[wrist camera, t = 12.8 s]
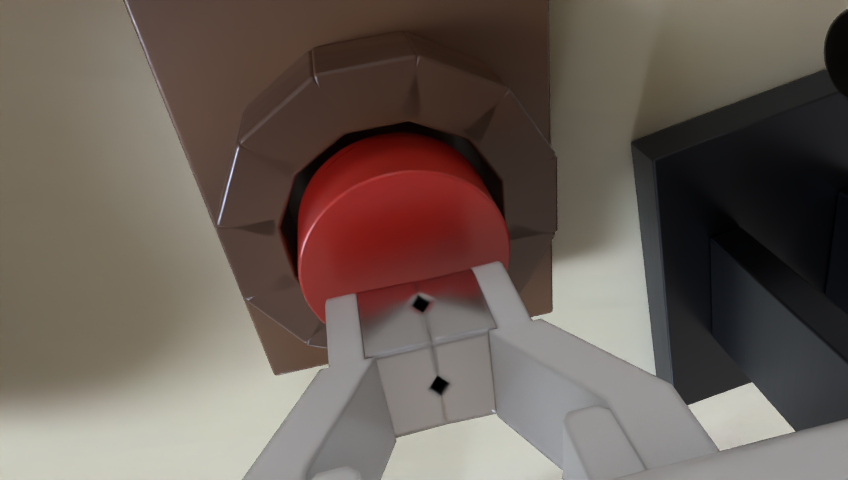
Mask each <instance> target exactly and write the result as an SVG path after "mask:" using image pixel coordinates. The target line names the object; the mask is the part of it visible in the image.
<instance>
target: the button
mask: <svg viewBox="0 0 848 480" xmlns="http://www.w3.org/2000/svg"><path fill="white" fill-rule="evenodd" d="M509 259H510V238H509V232H508V228H507V225H506V222H505V220H504V218H503V216H502V214H501V212H500V210H499V208H498V207H497V205H496V203H495V202H494V200H493V198H492V196H491V195H490V193H489V191H488V190H487V188H486V186H485V184H484V183H483V181H482V179H481V178H480V176H479V174H478V172H477V171H476V170H475V168H474V167H473V165H472V164H471V163H470V162H469V161H468V160H467V159H466V158H465V157H464V156H463V155H462V154H461V153H460V152H458V151H457V150H456V149H454V148H453V147H451V146H449V145H448V144H446V143H444V142H442V141H439V140H437V139H434V138H432V137H428V136H424V135H420V134H413V133H387V134H380V135H375V136H372V137H368V138H364V139H362V140H359V141H357V142H354V143H352V144H350V145H349V146H347V147H345V148H343V149H341V150H340V151H338V152H337V153H336V154H334V155H333V156H332V157H330V158H329V159H328V160H327V161H326V162H325V163H324V164H323V165H322V166H321V167H320V168H319V169H318V170H317V172H316V173H315V174H314V175H313V177H312V178H311V180H310V182H309V183H308V185H307V187H306V189H305V191H304V194H303V196H302V199H301V203H300V207H299V212H298V277H299V282H300V286H301V290H302V293H303V295H304V297H305V300H306V302H307V303H308V305H309V306H310V308H311V310H312V311H313V312H314V313H315V314H316V316H317V317H318V318H319V319H320V320H321V321H322V322H323V323H324V324H326V312H325V304H326V300H327V299H330V298H334V297H339V296H344V295H349V294H353V293H355V294H357V292H362V291H367V290H372V289H377V288H382V287H387V286H392V285H397V284H402V283H407V282H412V281H419V280H423V279H428V278H432V277H436V276H441V275H445V274H450V273H454V272H458V271H463V270H467V269H470V268H472V267H476V266H480V265H484V264H488V263H491V262H495V261H499V262H501V263H502V264H503V266H504V268H505V270H506V272H507V269H508V265H509Z"/></svg>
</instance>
